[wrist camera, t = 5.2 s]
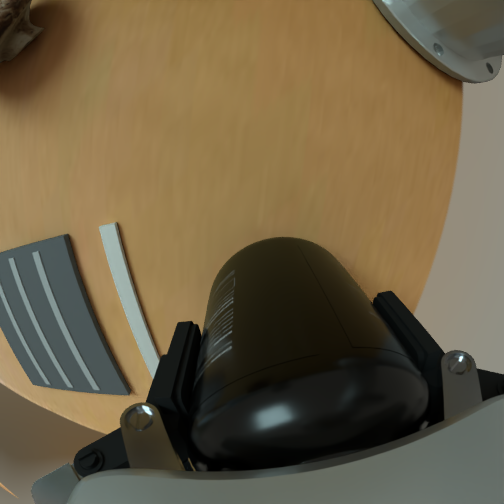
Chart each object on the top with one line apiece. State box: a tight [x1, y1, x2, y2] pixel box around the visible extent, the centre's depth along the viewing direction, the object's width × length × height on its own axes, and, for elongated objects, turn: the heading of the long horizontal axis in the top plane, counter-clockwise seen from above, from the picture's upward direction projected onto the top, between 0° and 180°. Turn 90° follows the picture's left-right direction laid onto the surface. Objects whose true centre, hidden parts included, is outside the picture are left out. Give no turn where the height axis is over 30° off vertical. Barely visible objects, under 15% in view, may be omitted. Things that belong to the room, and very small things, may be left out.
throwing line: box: [99, 222, 160, 379], centre depth 15 cm, size 1×12×1 cm, turn 8°
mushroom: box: [0, 0, 44, 62], centre depth 7 cm, size 8×8×6 cm
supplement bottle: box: [186, 237, 432, 472], centre depth 8 cm, size 7×7×12 cm
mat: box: [0, 234, 131, 395], centre depth 15 cm, size 11×12×1 cm
